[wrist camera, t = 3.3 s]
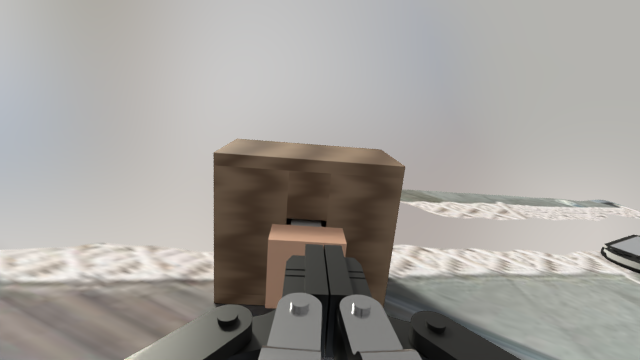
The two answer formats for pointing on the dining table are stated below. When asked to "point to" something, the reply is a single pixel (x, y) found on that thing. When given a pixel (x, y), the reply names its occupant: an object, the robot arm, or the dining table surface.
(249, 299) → the box
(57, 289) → the dining table surface
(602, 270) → the dining table surface
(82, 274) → the dining table surface
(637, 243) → the gaming console
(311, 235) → the pinkish brown block
